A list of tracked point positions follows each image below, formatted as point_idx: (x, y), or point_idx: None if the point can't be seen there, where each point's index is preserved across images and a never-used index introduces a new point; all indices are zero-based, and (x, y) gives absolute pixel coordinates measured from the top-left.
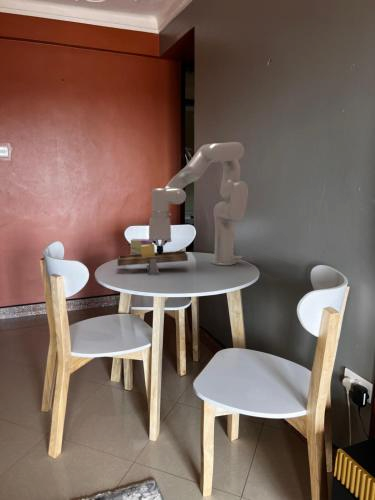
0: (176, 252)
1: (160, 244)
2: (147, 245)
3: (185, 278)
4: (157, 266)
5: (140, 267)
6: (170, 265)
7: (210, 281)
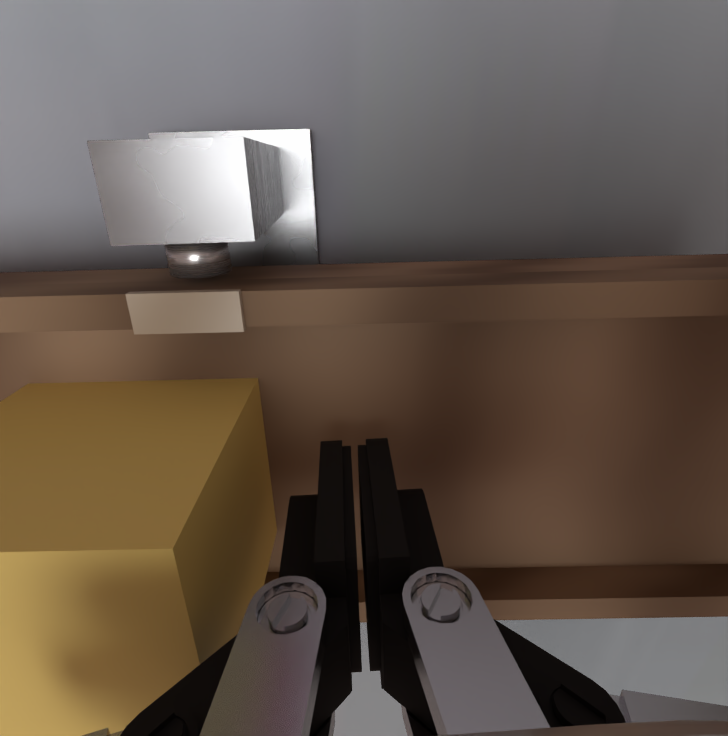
0: (714, 310)
1: (384, 632)
2: (18, 676)
3: (553, 625)
4: (316, 252)
5: (70, 194)
6: (514, 79)
7: (708, 683)
